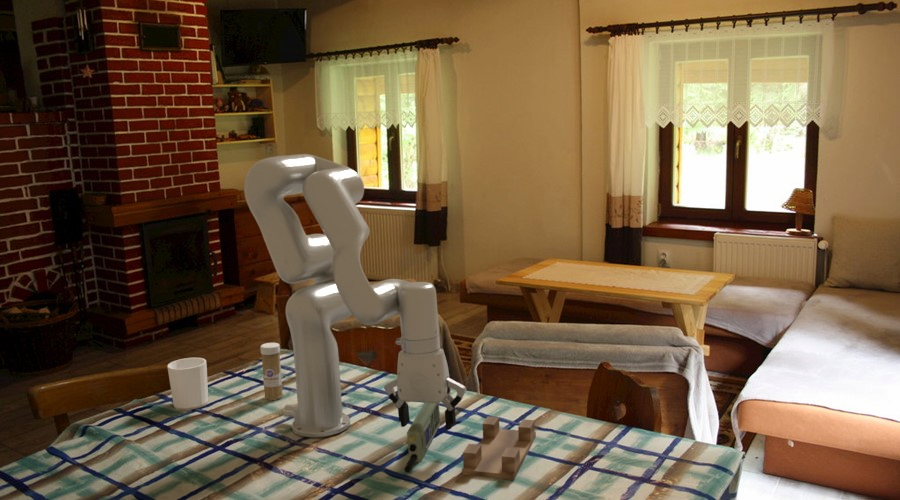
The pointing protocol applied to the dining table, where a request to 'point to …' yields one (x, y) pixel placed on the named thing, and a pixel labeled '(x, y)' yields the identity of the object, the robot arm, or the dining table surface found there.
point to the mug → (188, 383)
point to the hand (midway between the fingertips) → (427, 425)
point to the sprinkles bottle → (271, 371)
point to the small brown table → (499, 450)
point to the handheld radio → (422, 433)
